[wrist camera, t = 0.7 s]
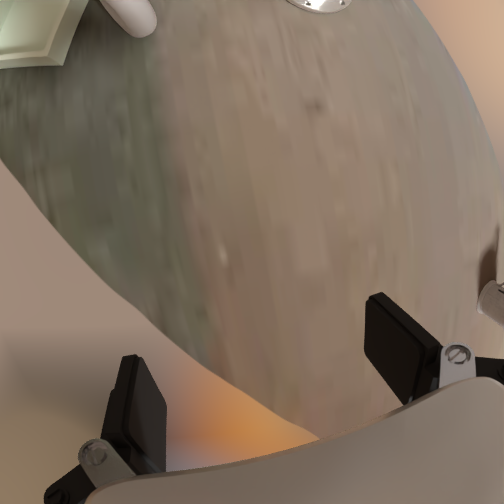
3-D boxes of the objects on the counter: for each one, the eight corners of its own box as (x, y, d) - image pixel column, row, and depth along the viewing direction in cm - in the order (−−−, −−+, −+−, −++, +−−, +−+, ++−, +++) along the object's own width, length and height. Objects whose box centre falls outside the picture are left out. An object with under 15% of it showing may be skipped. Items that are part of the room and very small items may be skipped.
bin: (21, -15, 19) (8, -26, 14) (102, -27, 22) (94, -43, 18) (-15, 71, 23) (-33, 66, 18) (62, 65, 27) (47, 56, 22)
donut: (166, 36, 29) (158, 1, 19) (144, 53, 29) (128, 22, 20) (124, -5, 25) (108, -42, 16) (103, 11, 25) (81, -23, 16)
